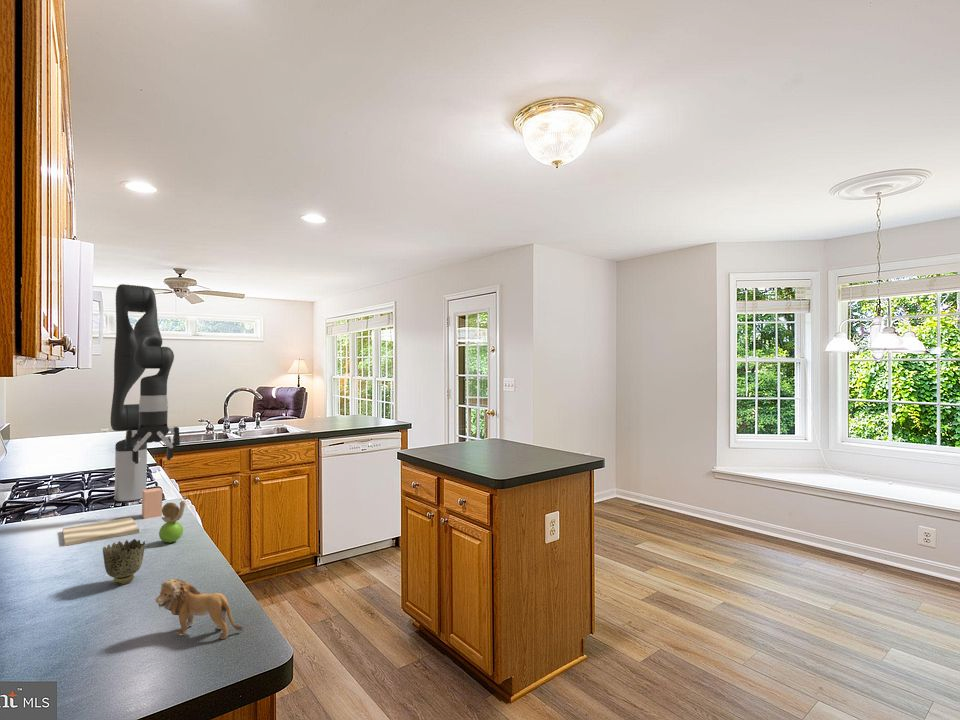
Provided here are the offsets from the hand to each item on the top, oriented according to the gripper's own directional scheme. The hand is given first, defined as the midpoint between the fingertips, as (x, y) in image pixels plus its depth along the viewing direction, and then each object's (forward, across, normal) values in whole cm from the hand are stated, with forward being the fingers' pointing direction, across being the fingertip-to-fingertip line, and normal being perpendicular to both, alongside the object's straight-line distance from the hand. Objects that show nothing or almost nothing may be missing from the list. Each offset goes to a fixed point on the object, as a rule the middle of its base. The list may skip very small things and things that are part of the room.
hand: (152, 461), depth 156 cm
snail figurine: (+17, 0, +32) cm, 36 cm away
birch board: (+17, +14, +9) cm, 24 cm away
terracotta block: (+17, 0, 0) cm, 17 cm away
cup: (+17, +13, +54) cm, 58 cm away
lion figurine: (+18, +6, +87) cm, 89 cm away
